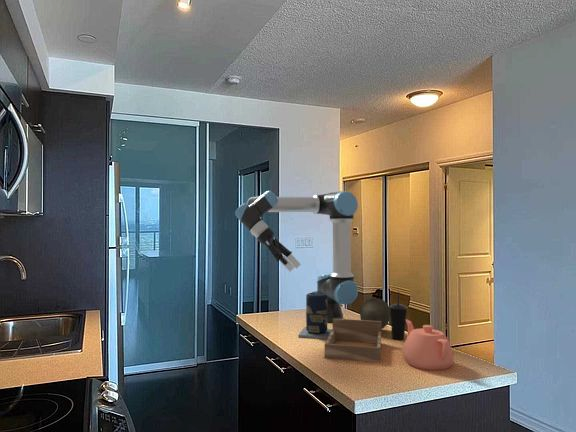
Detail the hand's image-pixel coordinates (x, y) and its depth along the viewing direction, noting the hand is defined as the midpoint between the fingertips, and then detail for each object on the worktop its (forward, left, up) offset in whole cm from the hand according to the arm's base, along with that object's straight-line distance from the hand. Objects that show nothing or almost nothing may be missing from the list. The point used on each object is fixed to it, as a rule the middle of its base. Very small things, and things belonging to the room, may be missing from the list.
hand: (295, 268), depth 192 cm
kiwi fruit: (-18, +34, -30) cm, 48 cm away
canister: (-6, +8, -29) cm, 31 cm away
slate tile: (-6, +9, -30) cm, 31 cm away
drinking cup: (-8, +44, -30) cm, 54 cm away
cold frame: (+14, +27, -30) cm, 42 cm away
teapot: (+23, +53, -30) cm, 65 cm away
